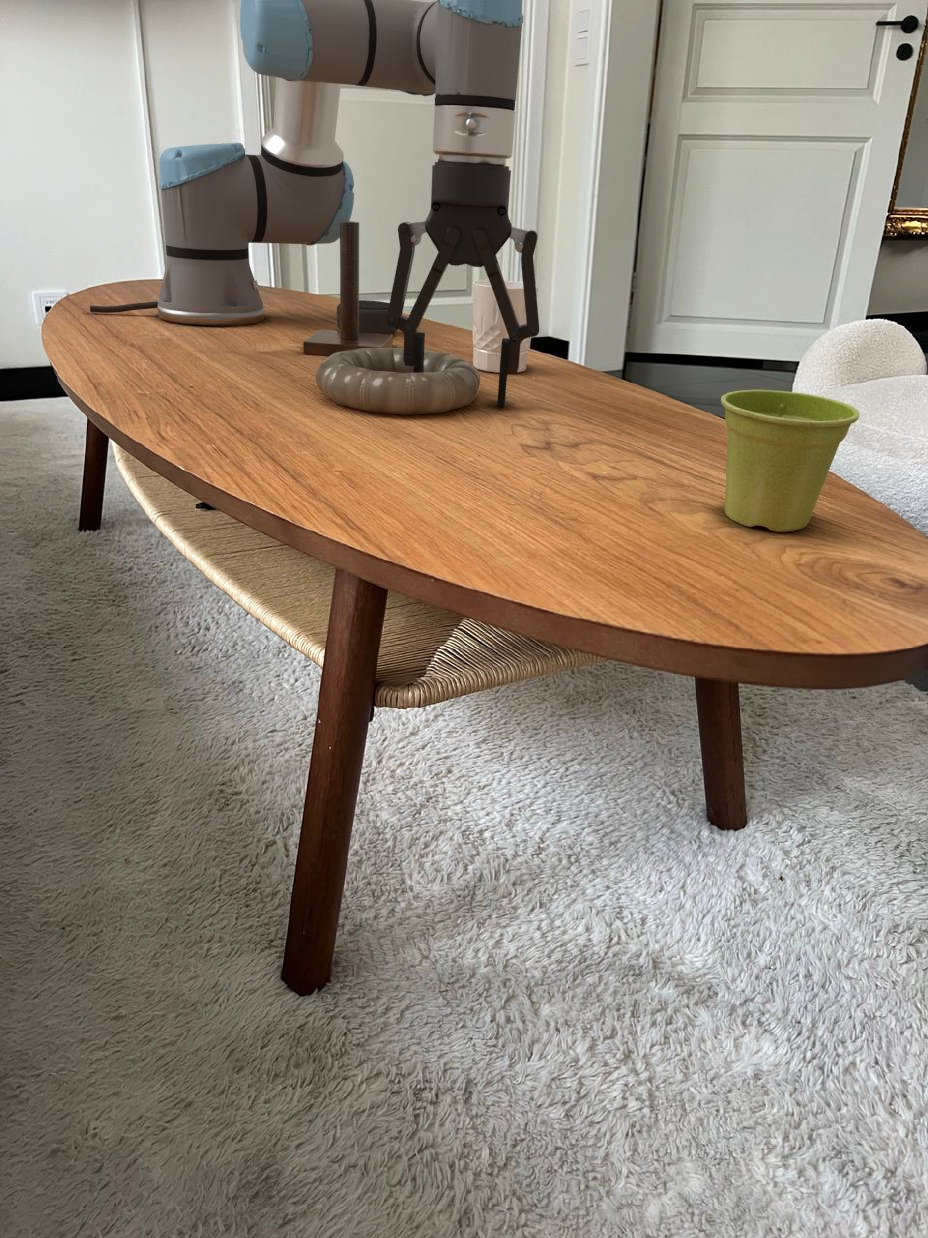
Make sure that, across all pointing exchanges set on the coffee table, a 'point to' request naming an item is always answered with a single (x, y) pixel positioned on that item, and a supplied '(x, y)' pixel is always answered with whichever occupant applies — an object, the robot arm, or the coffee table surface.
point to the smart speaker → (372, 317)
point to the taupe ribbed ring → (397, 381)
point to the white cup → (495, 325)
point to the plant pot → (780, 454)
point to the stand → (347, 305)
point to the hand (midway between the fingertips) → (459, 400)
